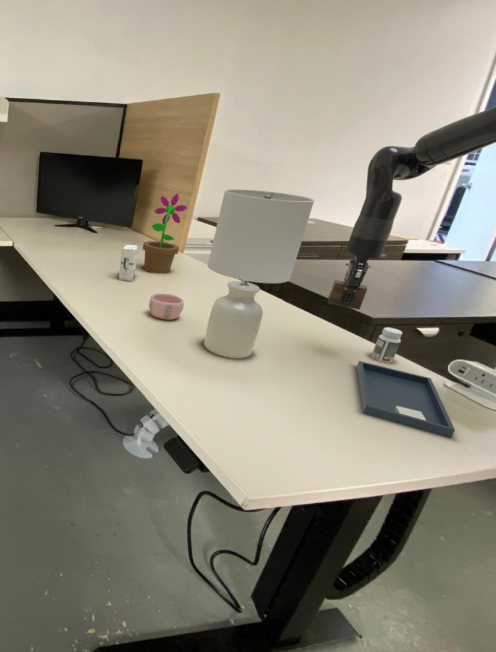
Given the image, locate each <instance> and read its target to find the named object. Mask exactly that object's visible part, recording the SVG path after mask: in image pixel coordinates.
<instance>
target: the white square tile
mask: <svg viewBox="0 0 496 652" xmlns="http://www.w3.org/2000/svg"><path fill="white" fill-rule="evenodd" d="M394 412H397V413H400V414H404V415H408V416H411V417H415V418H418V419H422V420H426V419H425V417H424V416H423V414H422V412H420V411H416V410H412V409H407V408H403V407H399V406H396V407H395V409H394Z"/></svg>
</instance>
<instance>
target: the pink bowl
mask: <svg viewBox="0 0 496 652" xmlns="http://www.w3.org/2000/svg"><path fill="white" fill-rule="evenodd" d="M184 304H185V302H184V299H183V298H182V297H180V296H177V295H176V294H175V295H174V294H171V293H160V292H158V293H154V294H152V295H151V296H150V297H149V301H148V308H149V312H150V314H151V315H152V316H153V317H155V318H157V319H162V320H174V319H175V320H176V319H177V318H178V317H179V316H180V315H181V314H182V312H183V310H184V307H185V306H184Z"/></svg>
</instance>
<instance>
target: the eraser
mask: <svg viewBox="0 0 496 652" xmlns="http://www.w3.org/2000/svg"><path fill="white" fill-rule="evenodd" d="M346 284H347V282H345V280H344V281H343V280H338V279H334V281H333V284H332V286H331V289H330V292H329V295H328V298H327V304H330V305H334V306H340V307H345V308H349V309H354V310H359V311H360V309H361V307H362V304H363V301H364V299H365V297H366V294H367V292H368V286H367V285H365V284H360V287H359V290H358V291H356V292H355V294H354V296H353V299H352V301H351V304H350V305H349V306H347V305H342V304H341V303H340V301H341V298H342V296H343V293H344V290H345V287H346ZM350 285H353V286H355V285H356V284H355V283H351V284H350Z"/></svg>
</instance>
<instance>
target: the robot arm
mask: <svg viewBox="0 0 496 652" xmlns="http://www.w3.org/2000/svg"><path fill="white" fill-rule="evenodd" d="M495 143H496V105H495V106H493V107H490V108H488V109H485V110H482V111H480V112H477V113H474V114H471V115H469V116H466V117H463V118H460V119H458V120H456V121H454V122H450V123H448V124H446V125H444V126H441V127H439V128H437V129H435V130H432V131H429V132H428V133H426V134H424V135H422V136H420V138H419V139H417V141H416V142H415V144H414V146H411V147H409V146H397V145H387V146H384V147H382V148H380V149H379V150H378V151H376V152H375V153H374V155H373V156H372V157H371V159H370V161H369V163H368V167H367V173H366V186H365V187H366V188H365V199H364V200H363V205H362V206H361V210H360V213H359V215H358V217H357V219H356V221H355V223H354V224H353V225H354V226H353V228H352V231H351V233H350V236H349V239H348V241H347V245H346V246H345V247H346V248H345V253H347V254H349V255H352V256H353V258H350V259H349V261H348V264H347V269H346V272H345V273H344V274H345V275H344V276H345V277H344V278H343V280H344V282H347V284H346V287H345V290H344V293H343V296H342V298H341V301H340V303H341V304H342V305H347V306H349V305H350V304H351V301H352V299H353V296H354V294H355V292H356V291H358V290H359V287H360V285H362V283H363V280H364V278H365V276H366V274H367V272H368V270H369V269H370V268H369V267H370V265H369V262H368V260H369V259H379V258H382V255H383V252H384V250H385V248H386V246H387V243H388V240H389V238H390V235H391V232H392V229H393V227H394V226H393V225H394V222H395V218H396V216H397V214H398V211H399V209H400V206H401V204H402V201H403V200H402V199H403V196H402V194H401V193H399V192H397V191H395V190H393V188H394V187H393V186H394V185H393V184H394V181H408V180H413V179H416V178H418V177H421V176H422V175H424V174H425V173H428V172H429V171H431V170H432V169H434V168H436V167H437V166H439V165H442V164H445V163H447V162H451V161H453V160H456V159H459V158H462V157H464V156H467V155H469V154H472V153H475V152H477V151H479V150H482V149H485V148H486V147H488V146H491V145H493V144H495ZM351 283H355V284H356V285H355V286H353V285H350V284H351Z"/></svg>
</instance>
